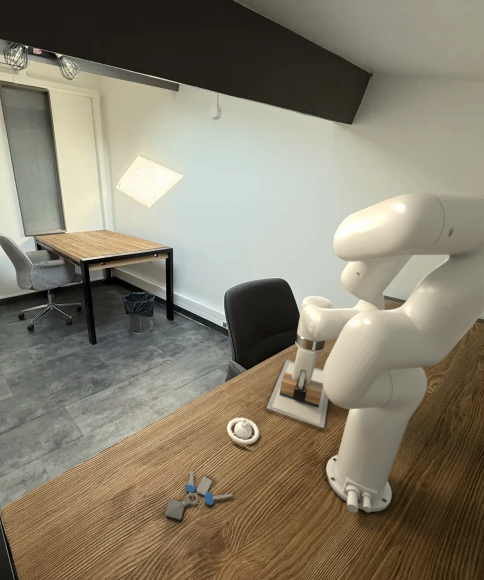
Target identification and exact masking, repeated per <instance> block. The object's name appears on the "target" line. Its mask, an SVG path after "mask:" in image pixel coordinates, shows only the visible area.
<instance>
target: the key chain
mask: <svg viewBox="0 0 484 580" xmlns="http://www.w3.org/2000/svg"><path fill="white" fill-rule="evenodd" d="M194 480H195V472H194V470H190V471H189V480H188V482H187V483H185V490H186V491H187V493H188V494H187V495H186V498H185V499H183V500H181V501H180V500H177V499H173V498H169V499H168V503H167V505H166V509H165V511H164V516H166V517H168V518H169V517H170V518H173V519H176V520H181V519H182V518H183V514H184V509H185V508H186V507H187V506H190V505H195V504H198V505H199V504H203V503H206V505H208V506H213V504H214V502H215V500H219V499H226V498H230V497H234V495H233V493H225V494H218V495H214V494H213V493H212V492H211V491H209V489H210V487H211V485H212V483H213V480H212V479H210V478H208V477H207V476H204V475H203V477H202V478H201V480H200V482H199V484H198V485H197V488H196V485H195V481H194ZM194 492H195V493H194ZM197 494H200V495H202V496H204V497H203V498H204V499H203V501H202V502H198V501H199V500H198V499H199V497H198V495H197ZM189 497H192V501H193V502H192V501H191V500H190V498H189ZM194 497H195V499H194Z"/></svg>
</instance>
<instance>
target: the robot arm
mask: <svg viewBox="0 0 484 580" xmlns="http://www.w3.org/2000/svg"><path fill="white" fill-rule="evenodd" d="M332 243H333V244H332V245H333V250H334V253H335V254H336V256H337V257H338V258H339V259H340V260H342V261H345V262H348V263H347V264H346V266H345V267H344V269H343V271H342V272H341V274H340V282H341V286H343V288H344V289H345V290H346V291H347V292H348V293H349V294H350V295H352V296H354V297H355V298H357V299H359V301H358V302H357V304H356V305H355V306H354V307H349V308H348V307H346V308H333V303H332V301H330V299H327V298H325V297H323V296H319V295H310V296H306V297H304V298H303V300H302V303H301V307H300V308H301V309H300V314H299V320H298V325H297V331H296V337H295V341H294V342H295V345H296V347H297V351H296V355H295V360H294V362H295V365H294V370H293V375H292V379H293V380H296V379H297V383H296V387H295V389H294V395H293V399H294V400H297V401H300V402H304V401H305V396H306V391H307V390H306V386H307V384H309V383H310V380H311V377H312V374H313V371H314V368H316V364H317V360H318V355H319V353H321V352H323V351H324V349H325V346H326V341H335V343H334V345H333V346H332V349H331V351H330V353H329V354H328V356H327V359H326V361H325V363H324V366H323V368H322V370H323V375H322V383H323V388H324V391H325V394H326V396H327V397H328V401H330V402H331V403H332V404H333V405H335V406H337V407H339V408H341V409H347V410H349V411H348V415H347V418H346V421H345V424H344V425H345V426H344V429H343V432H342V433H343V434H342V436H341V440H340V441H341V442H340V445H339V449H338V452H337V454H336V455H333V456H332V457H330V458H329V460H328V461H327V463H326V470H325V471H326V476H327V481H328V483H329V485H330V487H331V489H332V490H333V491H334V492H335V493H336V494H337V495H338V496H339V497H340V498H341V499H342V500H343V501H345V502H346V509H347V511H349V512H350V513H354V514H357V513H358V512H359V510H363V511H364V512H365V513H371V512H381V511H383V510H385V509H387V508H388V507H389V505H390V503H391V501H392V498H393V495H392V494H393V491H392V487H391V485H390V483H389V481H388V479H389V477H390V475H391V471H392V468H393V465H394V462H395V459H396V457H397V453H398V451H399V448H400V446H401V443H402V439H403V438H404V435H405V432H406V429H407V426H408V424H409V422H410V420H411V418H412V417H413V415H414V413H415V412H416V410H417V409H418V407H419V406H420V405H421V403H422V401H423V399H424V397H425V396H426V392H427V389H428V379H427V375H426V372H425V370H424V368H428V367H432V366H435V365H437V364H439V363H441V362H442V361H443V360H444V359H445V358H446V357H448V355H449V354H450V352H452V350H453V349H454V348H455V347H456V345H457V344H458V343H459V342H460V341H461V340H462V339H463V338H464V336H465V335H466V334H467V333H468V332H469V330H470V329H472V327H473V326H474V325H475V323H476V322H477V321H478V319H479V318H480V317H481V315H482V314H483V313H484V194H476V193H475V194H474V193H436V192H435V193H434V192H411V193H410V192H409V193H404V194H399V195H396V196H393V197H390V198H387V199H384V200H382V201H380V202H378V203H375V204H372V205H371V206H368V207H366V208H363V209H360V210H357V211H356V212H354V213H352V214H350V215H348V216H347V217H346V218H344V219H343V221H341V223H340V224H339V226H338V227H337V229H336V231H335V233H334V236H333V242H332ZM446 255H447V258H446V259H445V260H444V261H443V262H442V263H440V264H439V265H437V266H436V267H434V269H432V270H430V271H429V272H428V273H427V274H426V275H425V276H423V278H421V279H420V281H419V282H418V283H417V284H416V285H415V287H414V289H413V290H412V292H411V294H410V295H409V297H408V298H407V300H406V301H405V302H404V303H403V304H401V306H399V307H396V308H392V309H385V307H386V300H385V296H384V292H385V290H386V289H387V288H388V287H389V286H390V284H391V283H392V282H393V280H394V279H395V278H396V277H397V276H398V274H399V273H400V272H401V271H402V270H403V268H405V266H406V264H407V263H408V262H409V261H410V260H411V259H412V258H413V256H446ZM299 377H300V378H299ZM304 379H306V380H304ZM298 383H299V384H298ZM304 383H305V386H303V384H304ZM325 394H324V395H325Z"/></svg>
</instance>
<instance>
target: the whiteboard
mask: <svg viewBox="0 0 484 580" xmlns="http://www.w3.org/2000/svg"><path fill="white" fill-rule="evenodd" d="M294 365H295V361H292V360H288V359H286V360H285V362H284V365H283V367H282V370H281V372H280V374H279V377H278V380H277V381H276V384H275V386H274V389H273V392H272V394H271V396H270V398H269V401H268V403H267V406H266V409H268V410H271V411H274V412H277V413H279V414H283V415H285V416H289V417H291V418H294V419H297V420H300V421H303V422H305V423H308V424H310V425H313V426H317V427H320V428H323V429H324V428H325V424H326V418H327V410H328V404H329V403H328V402H329V398H328V397H327V396H326V394H325V391H324V388H322V394H321V399H320V403H319V407H315V406H312V405H309V404H306V403H303V402H300V401H296V400H293V399H290V398H287V397H284V396H281V395H279V394H280V388H281V382H282V379H283V376H284V374H285V372H286V373H289V374H293V370H294ZM322 375H323V369H321V368H317V367H315V368H314V371H313V374H312V377H311V380H313V381H317V382H320V383H322Z"/></svg>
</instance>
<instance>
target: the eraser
mask: <svg viewBox="0 0 484 580" xmlns="http://www.w3.org/2000/svg"><path fill="white" fill-rule="evenodd" d="M292 375H293V374H289V373H286V372H285V374H284V376H283V379H282V382H281V388H280V394H279V395H281V396H284V397H287V398H290V399H293V395H294V389H295V387H296V383H297V379H296V380H293V379H292ZM299 378H300V377H299ZM304 380H306V379H304ZM298 384H299V383H298ZM303 386H305V383H304V384H303ZM322 388H323V383H320V382H317V381H313V380H310V383H309V384H307V386H306V390H307V391H306V396H305V401H304V402H303V403H306V404H309V405H312V406H315V407H319V403H320V399H321V394H322ZM293 400H294V399H293ZM296 401H297V400H296Z"/></svg>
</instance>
